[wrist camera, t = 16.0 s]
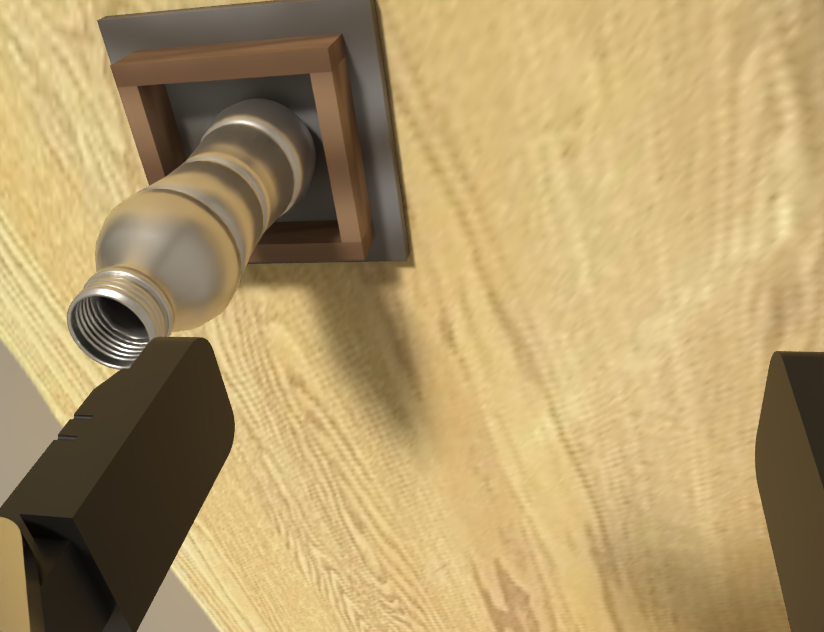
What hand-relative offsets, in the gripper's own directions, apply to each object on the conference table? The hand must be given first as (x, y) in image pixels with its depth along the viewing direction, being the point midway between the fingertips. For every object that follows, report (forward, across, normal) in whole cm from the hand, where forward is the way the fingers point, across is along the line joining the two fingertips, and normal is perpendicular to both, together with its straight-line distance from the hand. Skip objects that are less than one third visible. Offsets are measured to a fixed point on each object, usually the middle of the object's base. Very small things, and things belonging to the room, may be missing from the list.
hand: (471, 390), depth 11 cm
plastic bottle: (+33, +17, +9) cm, 39 cm away
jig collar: (+34, +18, +10) cm, 40 cm away
